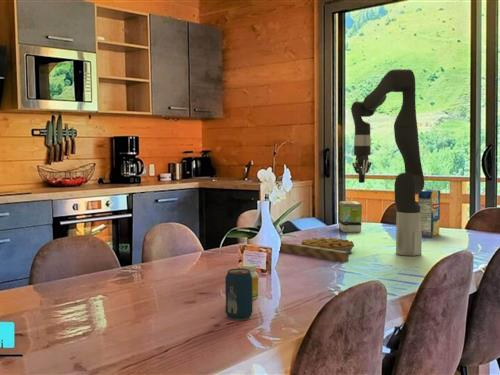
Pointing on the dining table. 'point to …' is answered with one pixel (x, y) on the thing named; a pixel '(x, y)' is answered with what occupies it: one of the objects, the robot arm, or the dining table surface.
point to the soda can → (238, 294)
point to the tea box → (350, 216)
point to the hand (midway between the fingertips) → (361, 182)
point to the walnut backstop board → (314, 251)
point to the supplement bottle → (255, 278)
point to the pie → (330, 244)
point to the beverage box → (429, 212)
